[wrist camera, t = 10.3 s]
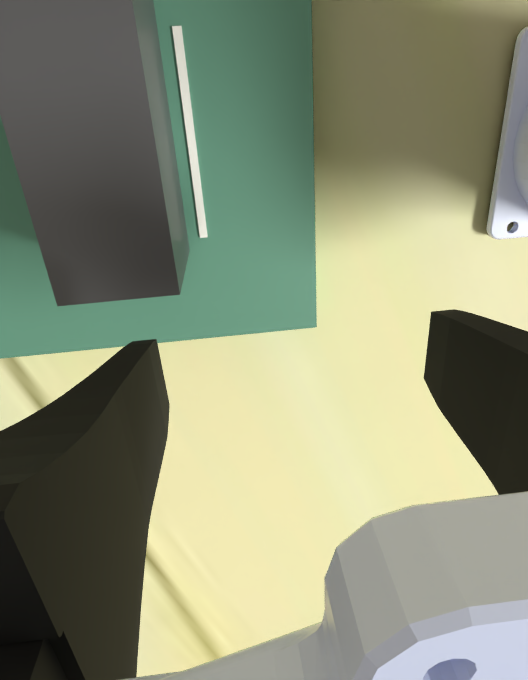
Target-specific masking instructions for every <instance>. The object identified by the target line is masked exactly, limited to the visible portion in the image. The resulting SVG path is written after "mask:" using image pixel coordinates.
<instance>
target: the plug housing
mask: <svg viewBox="0 0 528 680" xmlns="http://www.w3.org/2000/svg"><path fill="white" fill-rule="evenodd" d="M0 116H1V120H2V123H3V126H4V130H5V133H6V136H7V140H8V143H9V146H10V150H11V153H12V156H13V160H14V163H15V166H16V170H17V173H18V176H19V180H20V183H21V186H22V190H23V193H24V196H25V200H26V203H27V206H28V210H29V213H30V216H31V220H32V223H33V227H34V230H35V233H36V237H37V240H38V243H39V247H40V250H41V253H42V257H43V260H44V263H45V267H46V270H47V273H48V277H49V280H50V283H51V287H52V290H53V293H54V297H55V300H56V303H57V306H67V305H78V304H88V303H99V302H109V301H120V300H130V299H141V298H151V297H162V296H173V295H180V293H181V288H182V284H183V279H184V274H185V270H186V265H187V260H188V256H189V251H190V249H189V242H188V235H187V229H186V222H185V215H184V208H183V201H182V194H181V187H180V181H179V174H178V167H177V160H176V153H175V146H174V139H173V132H172V126H171V119H170V112H169V105H168V98H167V91H166V84H165V78H164V71H163V64H162V57H161V50H160V43H159V36H158V30H157V23H156V16H155V9H154V2H153V0H0Z"/></svg>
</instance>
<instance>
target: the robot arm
mask: <svg viewBox="0 0 528 680" xmlns="http://www.w3.org/2000/svg"><path fill="white" fill-rule="evenodd" d="M510 222H513V227H512V228H511V229H510V230H509V231H507V226H508V224H509V223H510ZM487 233H488V235H489V236H491V237H492V238H495V239H508V238H518V237H528V26H527V27H525V28H524V29H523V30H521V32H520V33H519V35H518V37H517V40H516V44H515V50H514V56H513V63H512V69H511V76H510V82H509V88H508V95H507V101H506V107H505V114H504V120H503V126H502V133H501V139H500V145H499V152H498V158H497V165H496V171H495V177H494V184H493V190H492V196H491V203H490V209H489V215H488V222H487ZM424 379H425V382H426V384H427V386H428V388H429V390H430V392H431V394H432V396H433V398H434V400H435V402H436V404H437V406H438V407H439V409H440V410H441V412H442V413H443V415H444V416H445V418H446V419H447V420H448V422H449V423H450V425H451V426H452V427H453V429H454V430H455V432H456V433H457V434H458V436H459V437H460V439H461V440H462V441H463V443H464V444H465V445H466V447H467V448H468V450H469V451H470V452H471V454H472V455H473V456H474V458H475V459H476V461H477V462H478V463H479V465H480V466H481V467H482V469H483V470H484V472H485V473H486V475H487V476H488V478H489V479H490V481H491V482H492V484H493V485H494V487H495V489H496V490H497V492H498V494H499V495H494V496H485V497H477V498H468V499H460V500H452V501H443V502H435V503H427V504H418V505H412V506H409V507H405V508H402V509H399V510H396V511H392V512H389V513H386V514H383V515H379V516H376V517H373V518H371V519H370V520H369V521H367V522H366V523H365V524H364V525H362V526H361V527H360V528H359V529H357V530H356V531H355V532H354V533H353V534H351V535H350V536H349V537H348V538H346V539H345V540H344V541H343V542H341V543H340V544H339V545H338V546H337V547H336V550H335V552H334V555H333V558H332V560H331V563H330V566H329V568H328V571H327V573H326V576H325V611H324V616H323V621H322V622H320V623H317V624H314V625H311V626H308V627H306V628H303V629H300V630H297V631H294V632H291V633H289V634H286V635H283V636H280V637H277V638H275V639H272V640H269V641H266V642H263V643H260V644H258V645H255V646H252V647H249V648H246V649H244V650H241V651H238V652H235V653H232V654H229V655H227V656H224V657H221V658H218V659H215V660H213V661H210V662H207V663H204V664H201V665H198V666H196V667H193V668H190V669H187V670H184V671H181V672H173V673H166V674H158V675H151V676H143V677H136V673H137V656H138V642H139V627H140V613H141V600H142V589H143V578H144V566H145V556H146V547H147V537H148V528H149V522H150V516H151V510H152V505H153V501H154V496H155V492H156V487H157V483H158V478H159V473H160V469H161V464H162V460H163V455H164V450H165V446H166V441H167V434H168V421H169V400H168V395H167V390H166V385H165V380H164V375H163V370H162V365H161V360H160V355H159V350H158V345H157V340H156V339H151V340H140V341H132V342H131V343H129V344H128V345H126V346H125V347H124V348H122V349H121V350H120V351H119V352H117V353H116V354H115V355H114V356H113V357H111V358H110V359H109V360H108V361H107V362H105V363H104V364H103V365H102V366H100V367H99V368H98V369H97V370H96V371H94V372H93V373H92V374H91V375H89V376H88V377H87V378H85V379H84V380H83V381H81V382H80V383H79V384H77V385H76V386H75V387H73V388H72V389H70V390H69V391H68V392H66V393H65V394H64V395H62V396H61V397H59V398H58V399H56V400H55V401H53V402H52V403H50V404H49V405H47V406H46V407H44V408H42V409H41V410H39V411H37V412H35V413H34V414H32V415H30V416H29V417H27V418H25V419H23V420H22V421H20V422H18V423H16V424H14V425H12V426H10V427H8V428H6V429H4V430H2V431H0V680H528V332H527V331H524V330H521V329H518V328H515V327H512V326H509V325H506V324H503V323H500V322H497V321H494V320H491V319H488V318H485V317H482V316H479V315H475V314H472V313H468V312H464V311H460V310H445V311H435V312H431V319H430V328H429V337H428V346H427V355H426V364H425V373H424Z"/></svg>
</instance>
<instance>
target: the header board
mask: <svg viewBox="0 0 528 680" xmlns="http://www.w3.org/2000/svg"><path fill="white" fill-rule="evenodd" d="M153 2H154V9H155V16H156V23H157V30H158V36H159V43H160V50H161V57H162V64H163V71H164V78H165V84H166V91H167V98H168V105H169V112H170V119H171V126H172V132H173V139H174V146H175V153H176V160H177V167H178V174H179V181H180V187H181V194H182V201H183V208H184V215H185V222H186V229H187V235H188V242H189V249H190V251H189V256H188V260H187V265H186V270H185V274H184V279H183V284H182V288H181V293H180V295H173V296H162V297H151V298H141V299H130V300H120V301H109V302H99V303H88V304H78V305H67V306H57V303H56V300H55V297H54V293H53V290H52V287H51V283H50V280H49V277H48V273H47V270H46V267H45V263H44V260H43V257H42V253H41V250H40V247H39V243H38V240H37V237H36V233H35V230H34V227H33V223H32V220H31V216H30V213H29V210H28V206H27V203H26V200H25V196H24V193H23V190H22V186H21V183H20V180H19V176H18V173H17V170H16V166H15V163H14V160H13V156H12V153H11V150H10V146H9V143H8V140H7V136H6V133H5V130H4V126H3V123H2V120H1V116H0V358H10V357H20V356H30V355H41V354H51V353H61V352H71V351H81V350H91V349H101V348H111V347H121V346H126V345H128V344H129V343H131V342H132V341H140V340H151V339H156V340H157V343H162V342H172V341H182V340H192V339H202V338H212V337H222V336H232V335H243V334H253V333H263V332H273V331H283V330H293V329H303V328H313V327H317V323H316V258H315V192H314V127H313V61H312V0H153Z"/></svg>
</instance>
